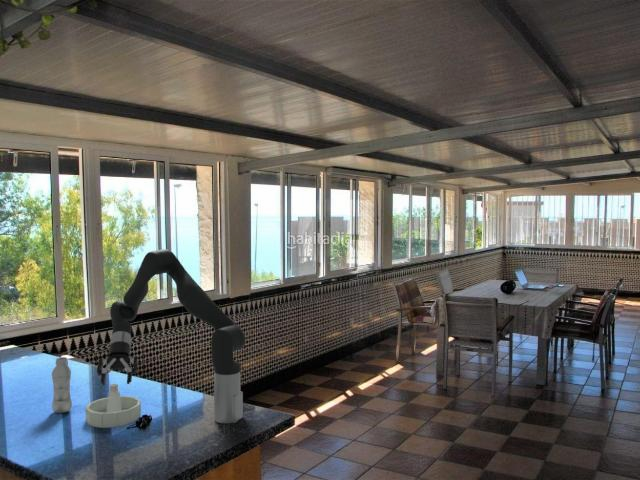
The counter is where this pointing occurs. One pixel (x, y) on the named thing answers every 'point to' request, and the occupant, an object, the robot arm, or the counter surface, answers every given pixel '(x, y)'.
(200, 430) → the counter surface
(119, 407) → the salt shaker
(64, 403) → the plastic bottle
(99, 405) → the bowl
